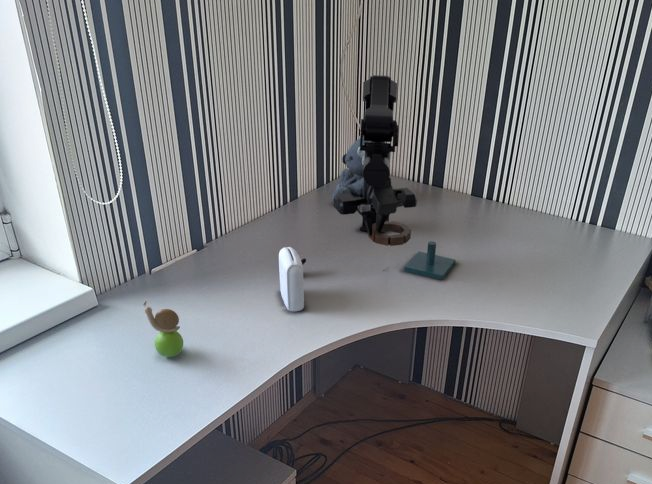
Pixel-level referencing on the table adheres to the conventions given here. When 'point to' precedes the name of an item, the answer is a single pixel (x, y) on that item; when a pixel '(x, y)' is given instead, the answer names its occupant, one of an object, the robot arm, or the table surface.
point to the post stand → (430, 263)
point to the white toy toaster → (291, 279)
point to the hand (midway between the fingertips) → (374, 234)
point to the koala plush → (352, 172)
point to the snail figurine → (165, 331)
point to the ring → (391, 239)
